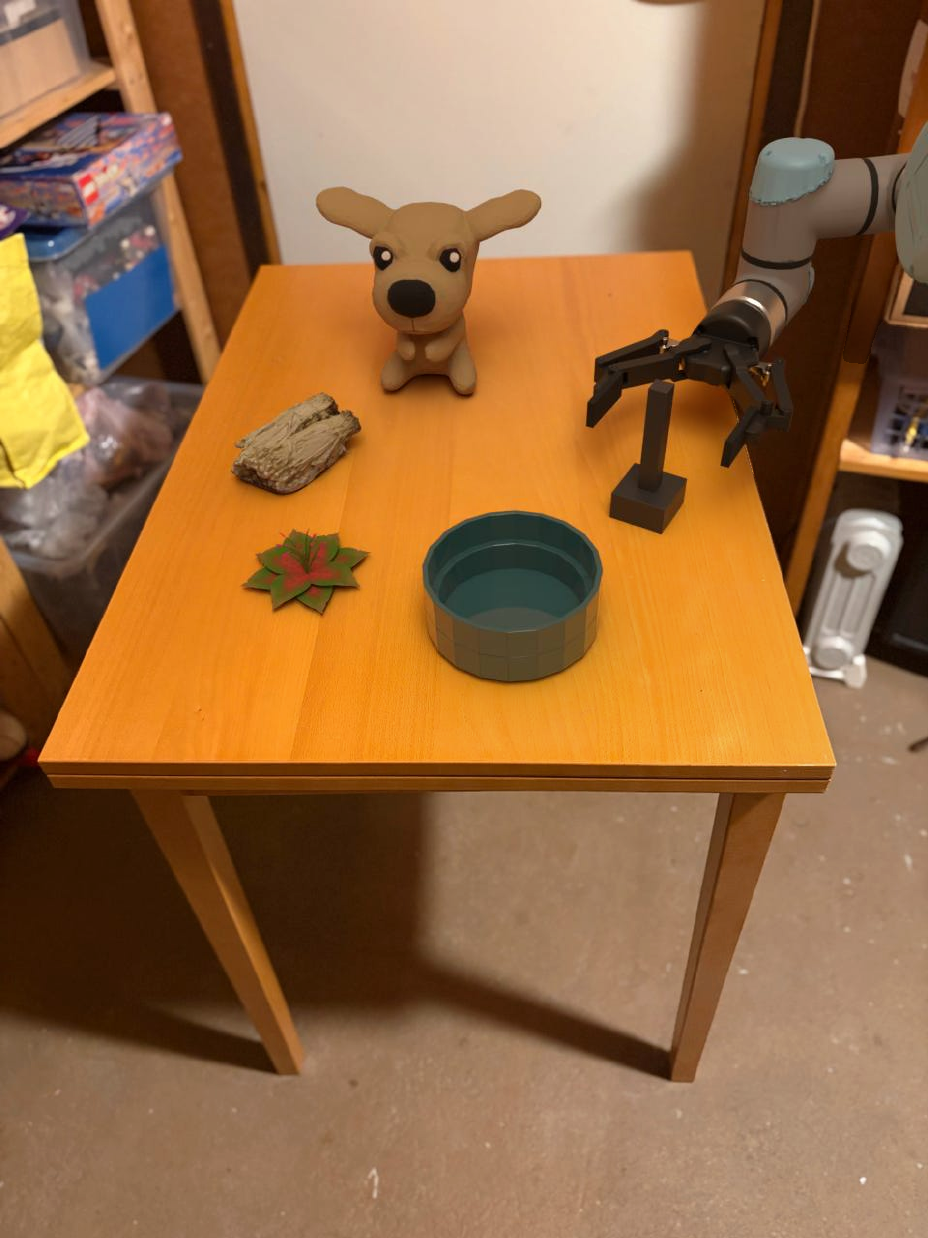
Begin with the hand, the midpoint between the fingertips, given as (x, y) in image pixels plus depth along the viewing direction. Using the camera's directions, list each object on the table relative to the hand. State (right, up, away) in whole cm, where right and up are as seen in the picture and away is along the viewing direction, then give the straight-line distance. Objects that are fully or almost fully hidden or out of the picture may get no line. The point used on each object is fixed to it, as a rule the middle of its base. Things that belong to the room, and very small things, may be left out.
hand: (655, 434), depth 86 cm
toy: (-21, +13, +26) cm, 36 cm away
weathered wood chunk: (-35, 0, +15) cm, 38 cm away
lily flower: (-33, -13, +2) cm, 35 cm away
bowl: (-14, -17, -4) cm, 22 cm away
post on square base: (0, -6, +6) cm, 9 cm away
